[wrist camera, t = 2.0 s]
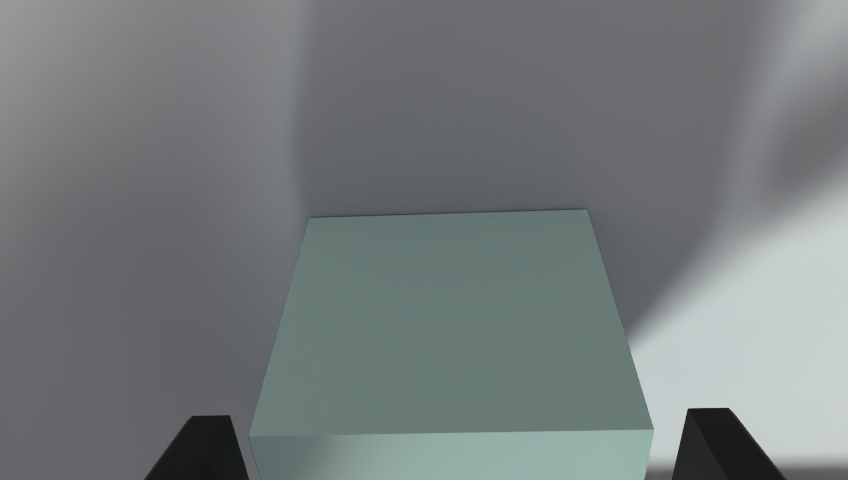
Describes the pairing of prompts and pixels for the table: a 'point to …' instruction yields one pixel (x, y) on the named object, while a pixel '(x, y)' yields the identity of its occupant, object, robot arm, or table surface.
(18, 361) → the table surface
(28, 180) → the table surface
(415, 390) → the mint green cube
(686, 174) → the table surface
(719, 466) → the robot arm
